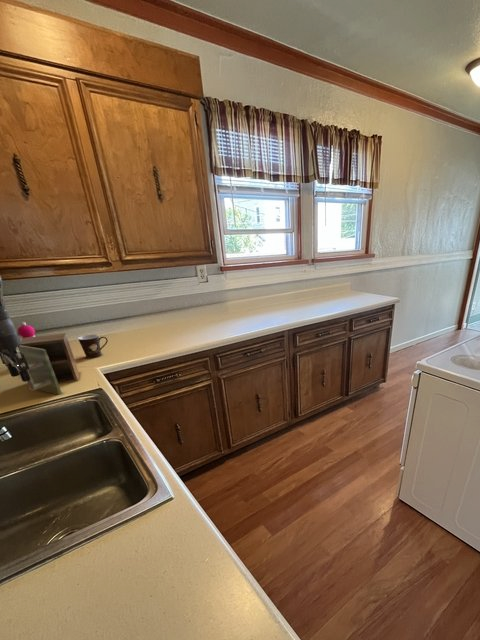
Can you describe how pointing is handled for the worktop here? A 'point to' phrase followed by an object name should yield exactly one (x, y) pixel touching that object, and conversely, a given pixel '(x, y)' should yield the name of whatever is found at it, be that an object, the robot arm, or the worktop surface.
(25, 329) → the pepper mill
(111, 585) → the worktop surface
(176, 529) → the worktop surface
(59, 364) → the cupboard
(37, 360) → the cupboard door
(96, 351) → the coffee mug
